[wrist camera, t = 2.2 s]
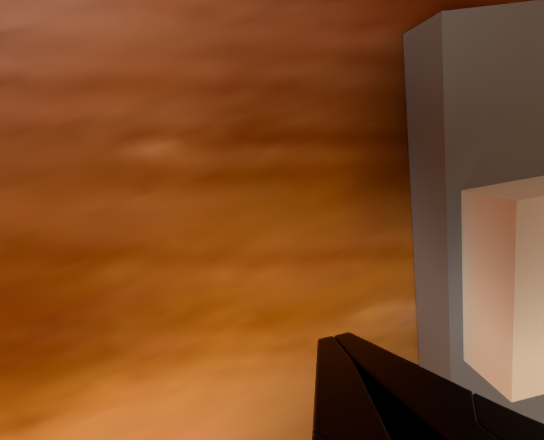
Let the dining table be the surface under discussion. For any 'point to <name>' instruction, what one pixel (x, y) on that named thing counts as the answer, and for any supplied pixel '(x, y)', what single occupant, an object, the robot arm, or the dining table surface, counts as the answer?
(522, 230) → the tile
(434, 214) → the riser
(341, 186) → the dining table surface
